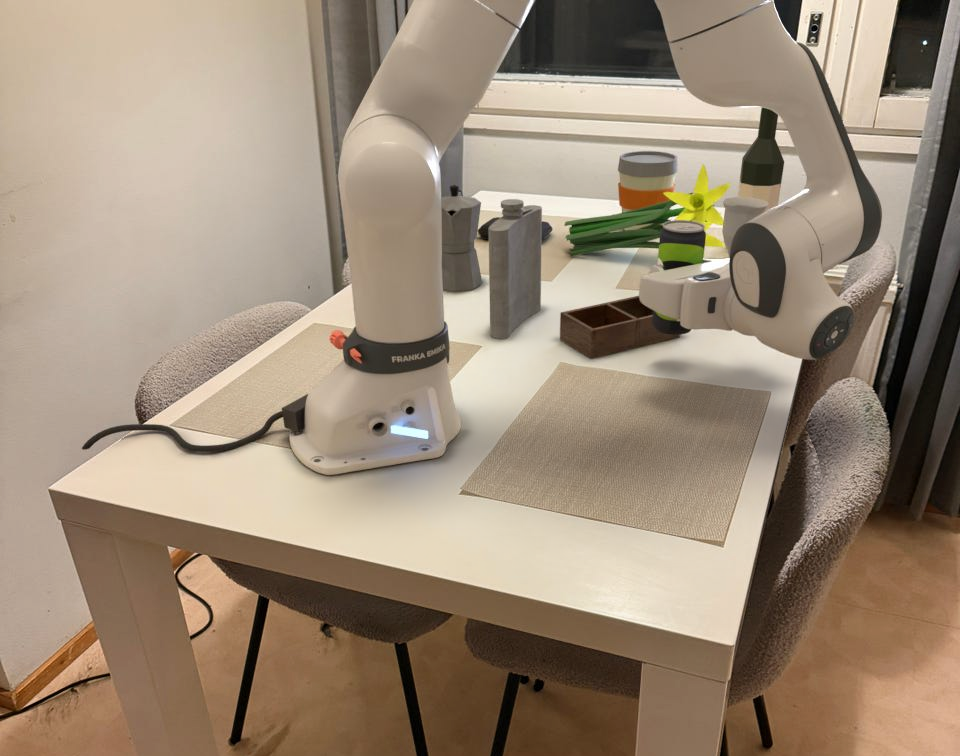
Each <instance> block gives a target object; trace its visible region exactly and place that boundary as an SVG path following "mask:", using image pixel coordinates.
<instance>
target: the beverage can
mask: <svg viewBox="0 0 960 756" xmlns="http://www.w3.org/2000/svg"><path fill="white" fill-rule="evenodd" d="M704 229H705V225H704V224H702V223H699V222H695V221H689V220H675V219H674V220H671V221H668V222H665V223H664V224H663V229H662V231H661V232H660V238H659V240H658V242H659V249H658V252H657V264H656V265H663V266H665V267H667V270H670V269H675V268H680V267H685V266H690V265H695V264H700V263H703V258H705V256H704V255H705V249H706V248H705V247H706V246H705V240H706V234H707V232H706V231H704ZM652 324H653V326H654V327H655V329H656V330H657V331H659V332H661V333H665V334H670V335H680V336H681V335H685V334H688V333H690V332H691V331H693V329H686V328H684V327H682V326H681V325H680V319H673V318H669V317H666V316H664V315H662V314H660V313H658V312H656V311H654V310H653V315H652Z"/></svg>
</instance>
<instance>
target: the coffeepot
mask: <svg viewBox="0 0 960 756" xmlns="http://www.w3.org/2000/svg"><path fill="white" fill-rule="evenodd" d="M449 190H450V195H447V196H441V213H442V282H443V292H444V291H445V292H453V293H456V292H457V293H461V292H467V291H472V290H474V289H477V288H479V287H480V286H481V284H483V279H482V274H481V268H480V263H479V258H478V252H477V250H476V247H475V241H476V240H477V239H478V229H479V223H480V217H481V216H480V215H481V208H482V207H481V206H482V202H481V201H480V200H478V198H476V197H471V196H464V195H463V192H462V190H460V186H459V185H456V184H452V185H451V186H449Z"/></svg>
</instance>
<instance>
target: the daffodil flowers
mask: <svg viewBox="0 0 960 756" xmlns="http://www.w3.org/2000/svg"><path fill="white" fill-rule="evenodd" d="M730 186H731V182H728V183H725V184H722V185H719V186H716V187H714V188H712V189H709V178H708V172H707V168H706V166H705V165H704V164H702V165H701V167H700V169H699V172H698V175H697V178H696V181H695V186H694V189H693V192H688V193H687V192H685V193H684V192H678V191H674V192H664V193H663V194H664V195H665V196H667V197H668V198H669V199H671V200H669V201H666V202H662V203H658V204H655V205H651V206H647V207H644V208H640V209H635V210H631V211H627V212H623V213H622V212H619V213H615V214H611V215H601V216H595V217H594V216H593V217H585V218H579V219H574V220H567V221H565V222H564V227H567V226H570V227H569V229H568V232H569V234H567V235H565V239H566V242H569V243H570V245H572V246H573V247H572V248H569V249H568V250H569V252H568V255H569V256H570V257H574V256H580V255H587V254H592V253H597V252H600V251H606V250H611V249H658V250H659V241H654V240H657V239H660V232H661V231H662V229H663V225H661V224H664V223H665V222H668V221H672V220H671V219H670V218H674V217H676V218H675V219H674V220H689V221H695V222H699V223H702V224H704V225H705V229H704V231H705V232H707V230H708V229H709V228H710V227H711V226H712V225H713V224H714V225H717V226H723V222H724V217H722V212H719V211H718V210H717V209H716V208H715V203H716V202H717V201H718V200H720V199H721V198H722V197H723V196H724V195H725V194H726V193H727V191H728V190H729V188H730ZM676 205H679V206H680V207H679V208H673V209H672V207H674V206H676ZM643 224H651V225H648V226H645V227H642V228H639V229H636V230H624V228H628V227H632V226H636V225H643ZM705 247H712V248H726V245H725V243H723V242H722V241H721V240H720V239H719V238H717V237H716V236H713V235H710V234H709V233H706V240H705Z"/></svg>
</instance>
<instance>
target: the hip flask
mask: <svg viewBox="0 0 960 756" xmlns="http://www.w3.org/2000/svg"><path fill="white" fill-rule="evenodd" d="M500 208H501V215H502V216H500V217H501V218H499V219H498V220H496V221H495V222H494V223H493V224H492V225H491V226H490V227H489V228H488V234H489V239H488V284H489V285H488V286H489V336H490V337H491V338H492V339H495V340H504V339H508V338H509V337H510V336H511V334H512V333H513V332H514V331H515V329H516V328H517V327H518V326H520V325H521V323H523V322H524V321H525V320H527V319H529V318H531V316H533V315H535V314H536V313H539V312H540V311H541V307H542V306H541V304H542V296H541V295H542V241H543V240H542V221H543V206H540V205H537V204H530V205H525V204H524V200H522V199H518V198H507V199H503V200H501V201H500ZM541 240H542V241H541Z"/></svg>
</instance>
